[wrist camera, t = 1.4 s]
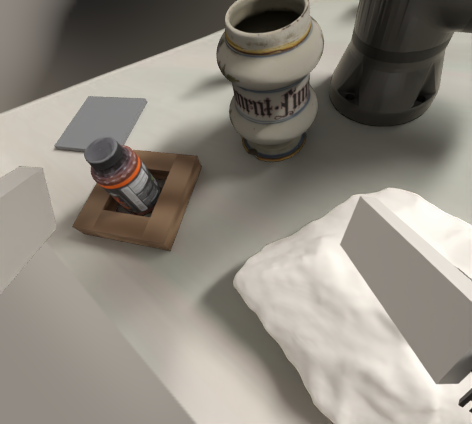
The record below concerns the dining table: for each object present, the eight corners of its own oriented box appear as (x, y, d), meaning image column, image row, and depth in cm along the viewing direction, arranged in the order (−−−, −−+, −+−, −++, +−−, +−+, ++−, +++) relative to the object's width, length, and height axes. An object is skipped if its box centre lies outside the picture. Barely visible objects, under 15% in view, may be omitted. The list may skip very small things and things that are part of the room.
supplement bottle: (118, 203, 41) (65, 154, 31) (147, 176, 42) (105, 122, 32) (142, 224, 38) (93, 178, 28) (171, 194, 40) (134, 141, 30)
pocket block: (124, 158, 45) (116, 148, 43) (201, 166, 41) (196, 155, 39) (84, 233, 39) (72, 226, 37) (170, 250, 35) (163, 243, 33)
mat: (91, 99, 54) (88, 96, 54) (147, 102, 51) (145, 98, 50) (57, 148, 49) (54, 146, 48) (118, 155, 46) (115, 152, 45)
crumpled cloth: (264, 184, 36) (255, 147, 28) (599, 222, 27) (734, 184, 19) (226, 375, 30) (199, 401, 21) (654, 508, 21) (901, 645, 12)
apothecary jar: (220, 148, 43) (183, 27, 27) (263, 101, 46) (253, -30, 31) (285, 181, 38) (286, 57, 22) (328, 125, 41) (355, -15, 26)
